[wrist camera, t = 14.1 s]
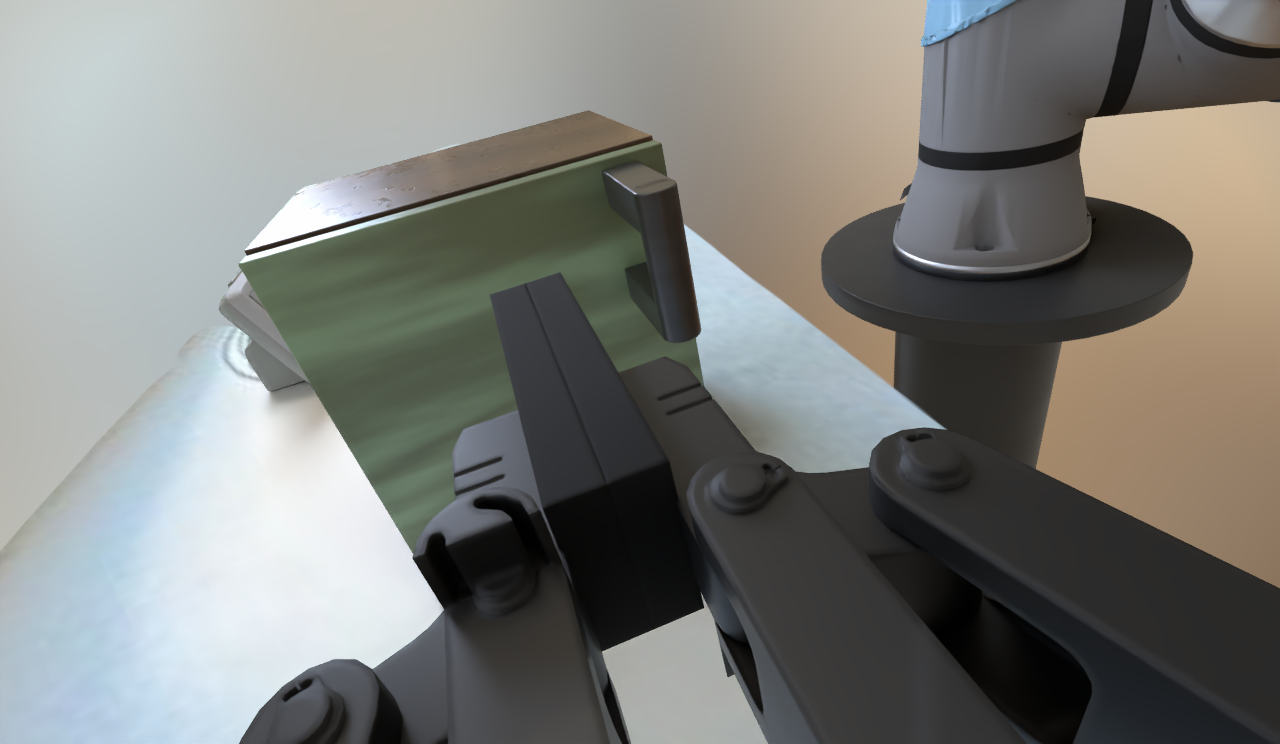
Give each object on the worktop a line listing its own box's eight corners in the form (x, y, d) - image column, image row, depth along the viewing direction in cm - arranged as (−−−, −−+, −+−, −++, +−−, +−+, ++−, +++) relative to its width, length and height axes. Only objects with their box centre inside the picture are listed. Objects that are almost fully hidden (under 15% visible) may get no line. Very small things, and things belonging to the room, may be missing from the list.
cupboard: (711, 463, 35) (652, 135, 25) (432, 569, 33) (243, 250, 23) (649, 371, 46) (589, 110, 36) (431, 447, 43) (299, 188, 33)
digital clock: (334, 390, 54) (272, 284, 48) (236, 415, 53) (163, 311, 48) (377, 314, 67) (333, 225, 62) (300, 333, 67) (249, 245, 62)
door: (763, 536, 30) (713, 163, 20) (432, 672, 27) (189, 319, 17) (712, 463, 35) (654, 139, 25) (431, 571, 33) (243, 256, 23)
